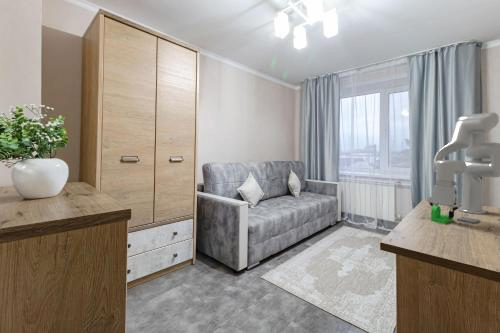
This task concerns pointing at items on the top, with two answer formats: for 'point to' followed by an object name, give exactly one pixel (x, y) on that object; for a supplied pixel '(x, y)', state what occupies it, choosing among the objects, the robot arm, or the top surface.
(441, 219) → the mechanical part
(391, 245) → the top surface
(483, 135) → the robot arm
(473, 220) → the dark rubber pad
